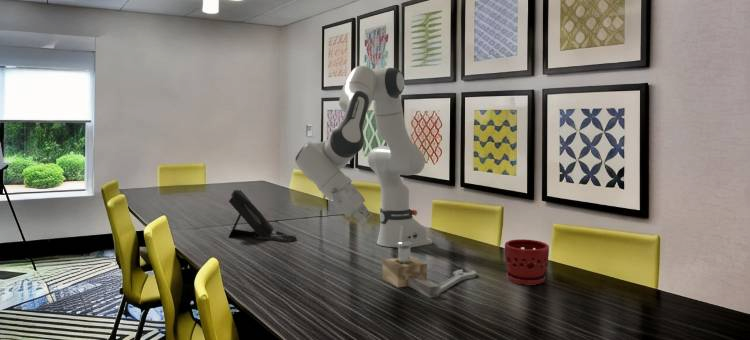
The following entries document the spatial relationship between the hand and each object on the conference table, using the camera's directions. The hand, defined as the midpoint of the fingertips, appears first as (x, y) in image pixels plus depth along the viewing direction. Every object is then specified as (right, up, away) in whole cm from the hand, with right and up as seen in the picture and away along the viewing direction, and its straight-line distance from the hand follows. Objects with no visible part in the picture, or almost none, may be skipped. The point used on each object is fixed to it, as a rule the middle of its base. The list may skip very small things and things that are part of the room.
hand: (367, 219), depth 165 cm
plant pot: (+49, -20, +1) cm, 52 cm away
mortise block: (+14, -19, -5) cm, 24 cm away
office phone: (-45, -13, +65) cm, 80 cm away
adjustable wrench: (+25, -20, 0) cm, 32 cm away
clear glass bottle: (+11, -17, 0) cm, 20 cm away
